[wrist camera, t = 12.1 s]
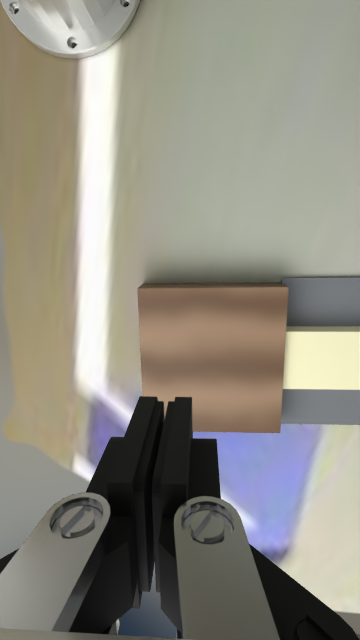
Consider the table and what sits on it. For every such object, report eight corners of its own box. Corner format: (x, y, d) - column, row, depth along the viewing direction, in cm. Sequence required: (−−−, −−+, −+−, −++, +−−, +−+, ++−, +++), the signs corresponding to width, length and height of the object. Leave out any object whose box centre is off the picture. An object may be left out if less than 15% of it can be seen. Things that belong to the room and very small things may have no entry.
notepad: (281, 326, 35) (285, 331, 33) (371, 326, 34) (382, 331, 32) (278, 380, 36) (282, 388, 34) (365, 381, 36) (374, 390, 34)
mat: (281, 277, 34) (282, 278, 34) (428, 276, 33) (430, 276, 33) (273, 421, 38) (274, 423, 38) (405, 424, 37) (406, 425, 37)
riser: (142, 284, 35) (137, 288, 32) (281, 282, 34) (288, 287, 31) (148, 415, 39) (144, 430, 36) (274, 417, 38) (280, 433, 35)
